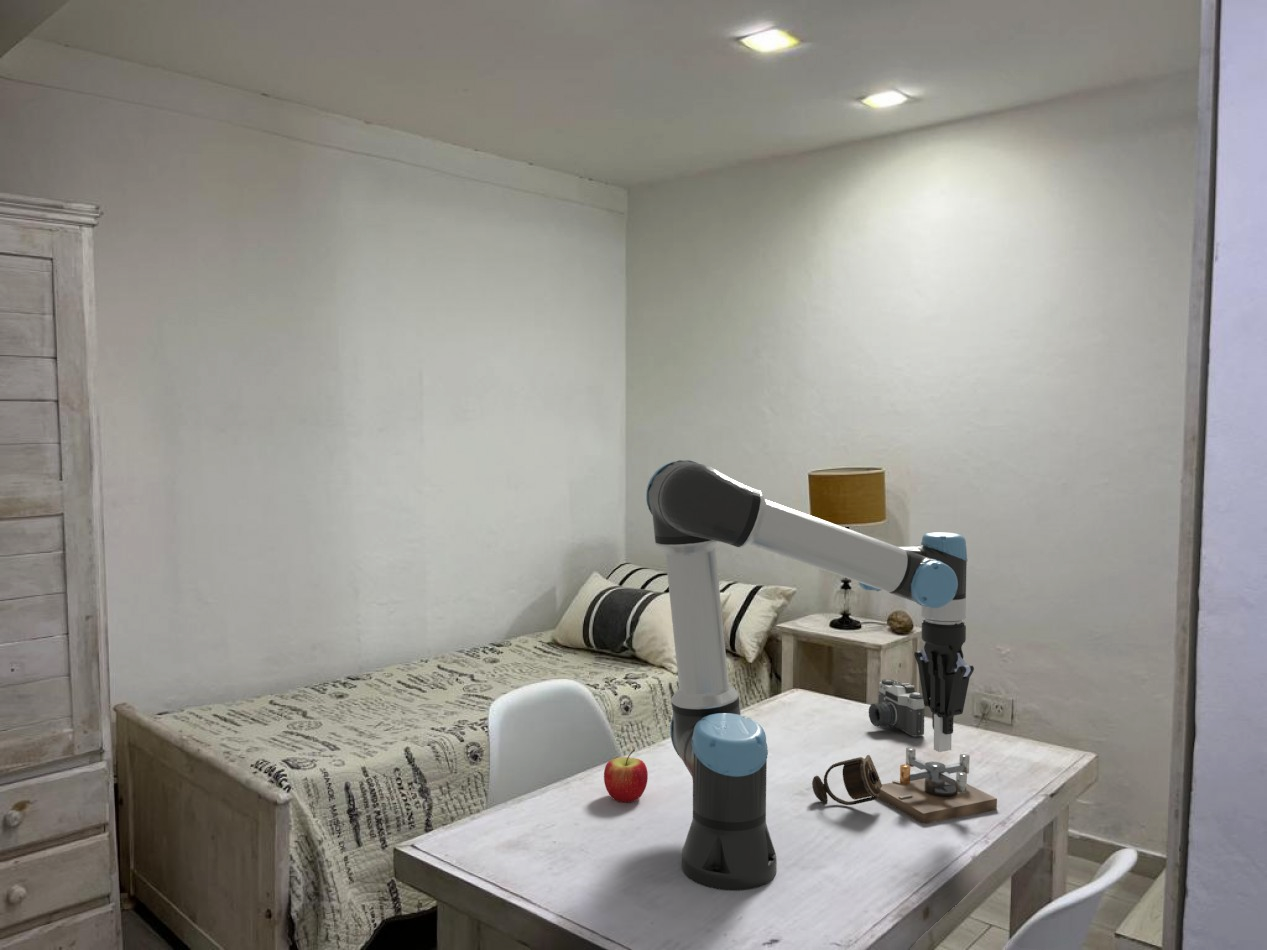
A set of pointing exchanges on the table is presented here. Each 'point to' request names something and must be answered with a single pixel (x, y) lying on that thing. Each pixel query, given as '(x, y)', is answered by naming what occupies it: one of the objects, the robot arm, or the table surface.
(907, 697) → the camera
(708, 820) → the robot arm
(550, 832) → the table surface
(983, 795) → the stand board
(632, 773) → the apple
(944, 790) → the grey star handwheel
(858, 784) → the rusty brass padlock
